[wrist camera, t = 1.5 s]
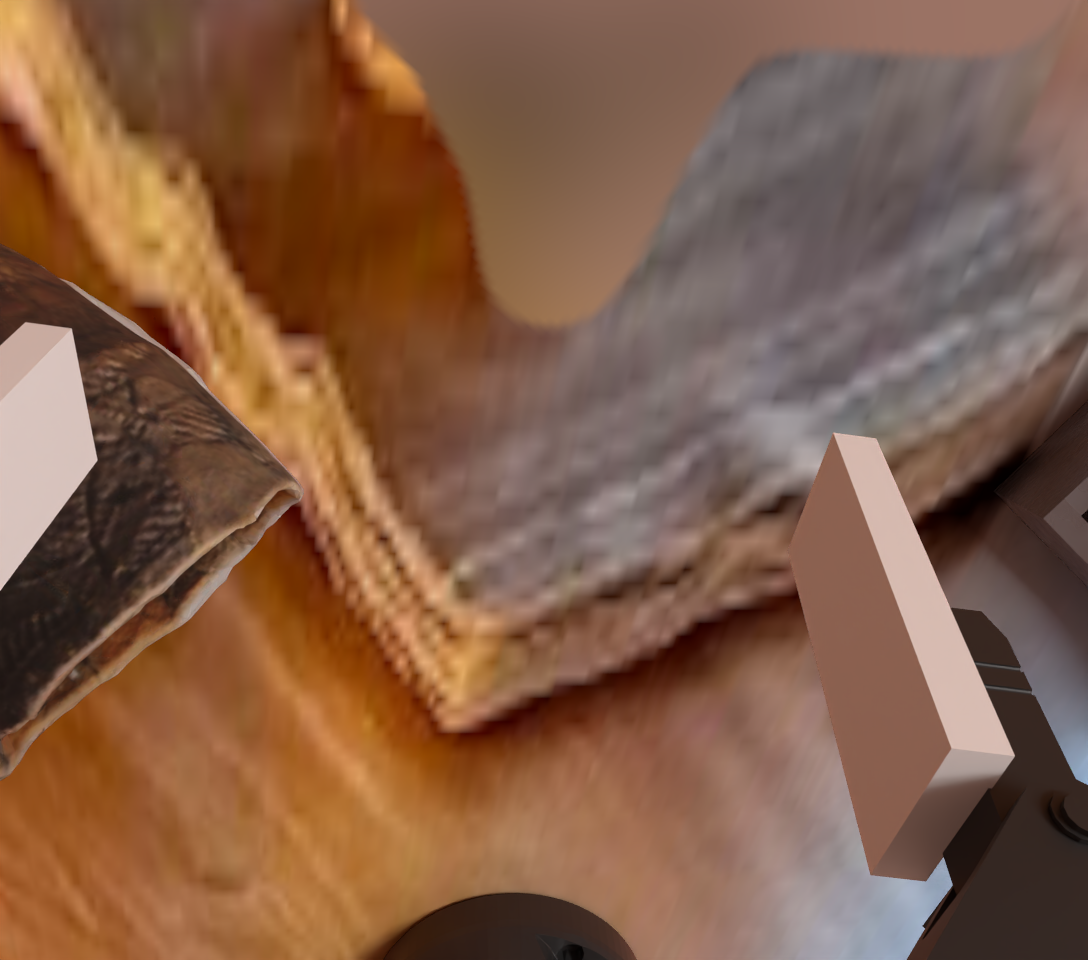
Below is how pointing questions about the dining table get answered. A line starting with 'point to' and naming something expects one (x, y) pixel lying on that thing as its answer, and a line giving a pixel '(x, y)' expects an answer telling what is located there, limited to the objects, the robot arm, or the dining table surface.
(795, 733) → the dining table surface
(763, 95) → the dining table surface
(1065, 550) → the tray
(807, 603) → the robot arm
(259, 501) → the clay pot
